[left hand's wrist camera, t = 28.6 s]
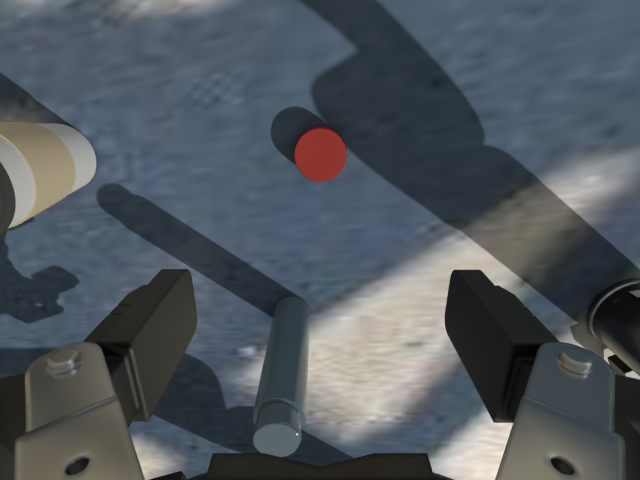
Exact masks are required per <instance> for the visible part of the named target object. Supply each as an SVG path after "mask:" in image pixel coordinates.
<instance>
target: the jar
mask: <svg viewBox="0 0 640 480" xmlns="http://www.w3.org/2000/svg"><path fill="white" fill-rule="evenodd" d="M309 332H310V308H309V305H308V304H307V303H306V302H305V301H304V300H303V299H301V298H298V297H293V296H291V297H286V298H283V299H281V300H280V301H279V302H278V303H277V305H276V307H275V311H274V315H273V320H272V325H271V330H270V335H269V339H268V344H267V349H266V354H265V359H264V363H263V368H262V373H261V378H260V383H259V387H258V392H257V397H256V402H255V407H254V411H253V422H254V424H255V430H254V435H253V443H254V446H255V447H256V449H257V450H258V451H259V452H261V453H266V454H270V455H274V456H278V457H284V456H288V455H290V454H292V453H293V452H295V451H296V450H297V448H298V446H299V444H300V442H301V439H302V433H301V429H302V428H303V426H304V424H305V421H306V401H307V378H308V355H309Z"/></svg>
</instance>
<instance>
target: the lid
mask: <svg viewBox="0 0 640 480" xmlns="http://www.w3.org/2000/svg"><path fill="white" fill-rule="evenodd" d="M344 144H345V143H344V141H343V140H342V138H341V136H340V135H339V134H338V133H337V132H336V131H334V130H332V129H331V128H327V127H325V126H324V127H321V126H318V127H311V129H309V130H306V132H304V133H303V134H301V136H300V138H299V139H298V140H297V145H296V146H295V152H294V157H295V162H296V165H297V167H298V169H299V171H300V172H301V173H302V174H303V175H304V176H305V177H307V178H309V179H311V180H314V181H327V180H330V179H332V178H334V177H335V176H337V175H338V174H339V173H340V172H341V171H342V169H343V168H344V165H345V162H346V156H347V154H346V150H347V149H346V147H345V145H344Z"/></svg>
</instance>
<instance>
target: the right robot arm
mask: <svg viewBox="0 0 640 480" xmlns="http://www.w3.org/2000/svg"><path fill="white" fill-rule="evenodd" d="M131 422H132V421H130V422H129V424H128V425H127V426H128V427H129V426H130V424H131ZM150 480H186V476H185V475H184V474H183V473H182V472H181V471H179V472H176V473H172V474H168V475H165V476H161V477H157V478H154V479H150Z"/></svg>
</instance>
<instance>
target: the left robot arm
mask: <svg viewBox="0 0 640 480" xmlns="http://www.w3.org/2000/svg"><path fill="white" fill-rule="evenodd" d="M587 324H588V328H589V331H590V333H591V334H592V335H593V336H594V337H595V338H596V339H597V340H598V341H599V342H601V343H602V344H604V345H605V346H606V347H607V348H608V349H610V350H611V351H612V352H613V353H614V354H615V355H612V356H610V357H608V361H609V364H610V365H609V364H608V363H607V362H606V361H605V360H604V359H602V358H601V357H600V356H598V355H596V354H595V353H593V352H591V351H589V350H587V349H585V348H582V347H579V346H576V345H573V344H569V343H563V342H559V341H558V340H557V339H556V338H555V337H554V336H553V335H552V334H551V332H550V331H549V330H548V329H547V328H546V327H545V326H544V325H543V324H542V323H541V322H540V321H539V320H538V319H537V318H536V317H535V316H533V314H532V313H531V312H530V311H529V310H528V308H527V307H524V304H523V303H522V302H521V301H520V300H519V299H518V298H517V297H516V296H515V295H514V294H512V293H510V292H509V291H507V290H505V289H504V288H502V287H500V286H495V285H494V284H493V283H492V282H491V281H490V280H489V279H488V278H487V276H486V275H485V274H484V273H483V272H482V271H481V270H454V271H453V272H452V274H451V277H450V284H449V290H448V297H447V304H446V310H445V327H446V331H447V334H448V336H449V338H450V340H451V342H452V344H453V346H454V348H455V349H456V351H457V353H458V355H459V357H460V359H461V361H462V363H463V365H464V367H465V368H466V370H467V372H468V374H469V376H470V378H471V380H472V382H473V384H474V385H475V387H476V389H477V391H478V393H479V395H480V397H481V399H482V401H483V403H484V404H485V406H486V408H487V410H488V412H489V414H490V416H491V418H492V420H493V422H494V423H513V426H512V429H511V432H510V435H509V439H508V442H507V445H506V448H505V451H504V454H503V457H502V460H501V463H500V466H499V470H498V473H497V476H496V479H495V480H640V279H631V280H626V281H623V282H620V283H618V284H616V285H614V286H612V287H610V288H609V289H607V290H606V291H604V292H603V293H602V294H601V295H600V296H599V297H598V298H597V299H596V300H595V302H594V303H593V305H592V306H591V308H590V310H589V313H588V318H587ZM196 325H197V311H196V304H195V297H194V290H193V283H192V277H191V273H190V271H189V270H188V269H162V270H161V271H160V272H159V273H158V274H157V275H156V276H155V277H154V278H153V280H152V281H151V282H150V283H149V284H148V285H143V286H141V287H139V288H138V289H136V290H134V291H132V292H131V293H129V294H128V295H127V296H126V297H125V298H124V299H123V300H122V301H121V302H120V303H119V304H118V306H116V307H115V308H114V309H113V310H112V312H111V313H110V315H108V316H107V317H106V318H105V319H104V320H103V321H102V322H101V323H100V324H99V325H98V326H97V327H96V328H95V329H94V330H93V331H92V333H91V334H90V335H89V336H88V337H87V338H86V339H85V340H84V341H83V342H77V343H71V344H67V345H64V346H61V347H58V348H55V349H53V350H51V351H49V352H47V353H45V354H44V355H42V356H40V357H39V358H38V359H36V360H35V361H34V362H33V363H32V364H31V365H30V366H29V367H28V369H27V371H26V373H25V374H21V375H16V376H11V377H6V378H1V379H0V480H145V479H144V476H143V473H142V470H141V466H140V463H139V460H138V457H137V454H136V451H135V448H134V445H133V442H132V439H131V435H130V432H129V429H128V426H127V425H128V424H129V422H130V421H149V420H150V418H151V416H152V414H153V412H154V410H155V408H156V406H157V404H158V403H159V401H160V399H161V397H162V395H163V393H164V391H165V389H166V387H167V385H168V383H169V381H170V379H171V378H172V376H173V374H174V372H175V370H176V368H177V366H178V364H179V362H180V360H181V358H182V356H183V355H184V353H185V351H186V349H187V347H188V345H189V343H190V341H191V339H192V337H193V335H194V333H195V330H196ZM187 480H453V479H451V478H448V477H445V476H443V475H440V474H436V473H433V472H432V468H431V465H430V462H429V458H428V455H427V453H374V454H370V455H366V456H362V457H358V458H354V459H350V460H346V461H343V462H339V463H335V464H331V465H327V466H313V465H309V464H305V463H301V462H297V461H294V460H290V459H286V458H282V457H278V456H274V455H270V454H266V453H213V455H212V458H211V462H210V465H209V468H208V472H207V473H204V474H200V475H197V476H195V477H192V478H189V479H187Z"/></svg>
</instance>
